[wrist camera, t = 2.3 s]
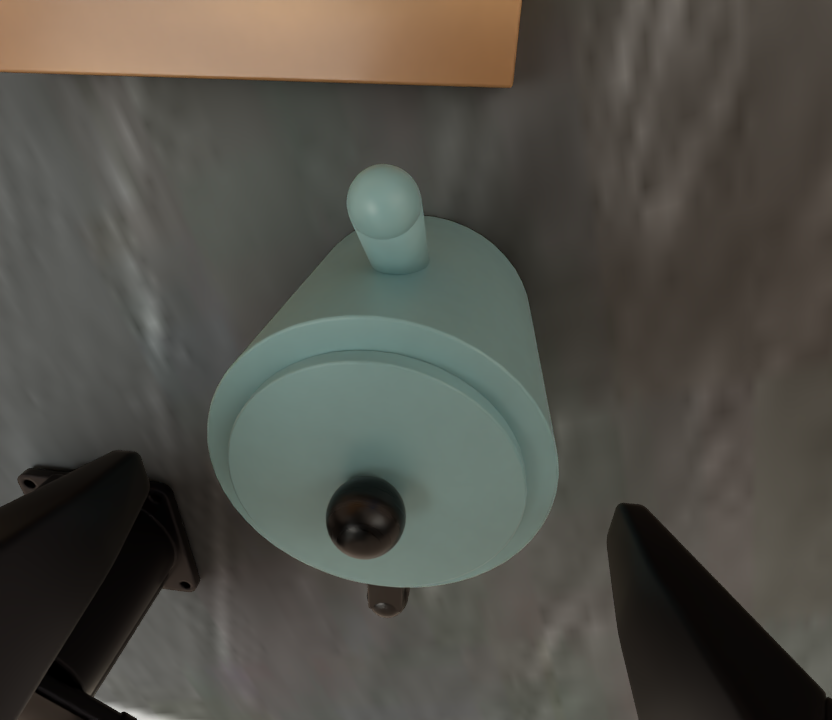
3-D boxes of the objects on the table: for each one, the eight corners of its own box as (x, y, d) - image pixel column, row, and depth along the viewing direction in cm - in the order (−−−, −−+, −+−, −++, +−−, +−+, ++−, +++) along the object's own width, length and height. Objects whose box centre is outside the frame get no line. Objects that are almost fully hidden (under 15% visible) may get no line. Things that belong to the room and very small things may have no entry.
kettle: (506, 479, 18) (520, 748, 11) (322, 460, 18) (221, 701, 11) (561, 134, 12) (671, 223, 5) (290, 124, 13) (42, 189, 6)
